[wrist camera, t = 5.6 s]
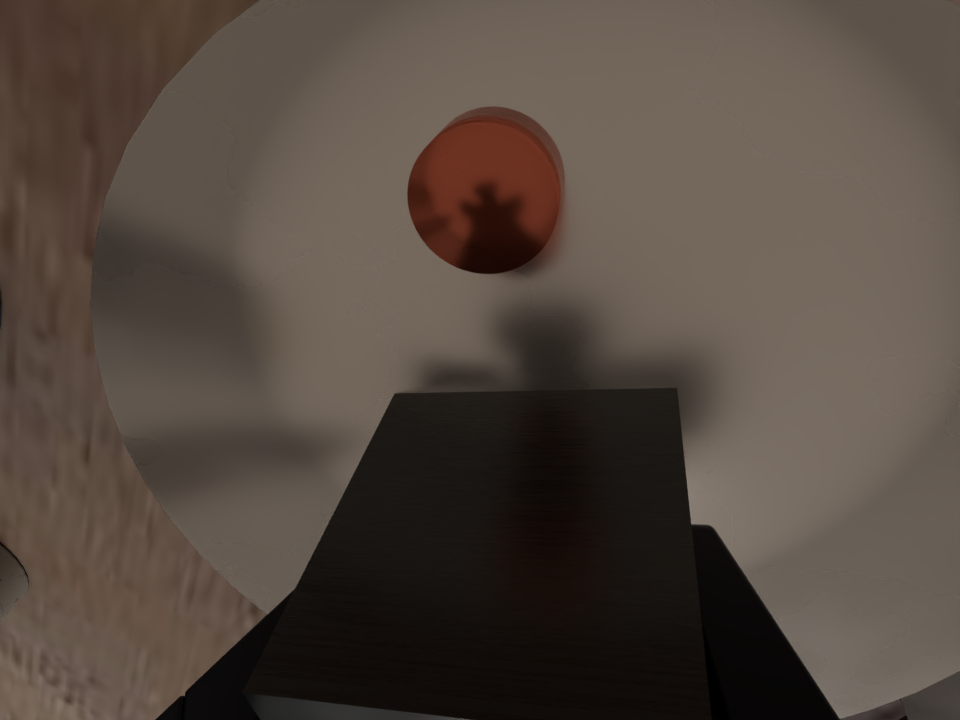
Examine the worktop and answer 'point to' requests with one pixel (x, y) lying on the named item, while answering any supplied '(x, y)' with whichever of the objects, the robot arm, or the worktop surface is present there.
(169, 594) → the worktop surface
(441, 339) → the lid
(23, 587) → the thermos bottle
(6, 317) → the worktop surface
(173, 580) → the worktop surface
